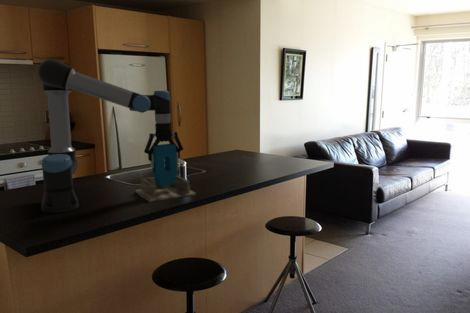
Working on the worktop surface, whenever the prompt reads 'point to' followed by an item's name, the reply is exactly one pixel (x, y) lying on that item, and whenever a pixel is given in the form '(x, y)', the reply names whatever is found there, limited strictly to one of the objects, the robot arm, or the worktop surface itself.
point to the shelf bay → (164, 189)
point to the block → (167, 172)
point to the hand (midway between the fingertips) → (164, 165)
